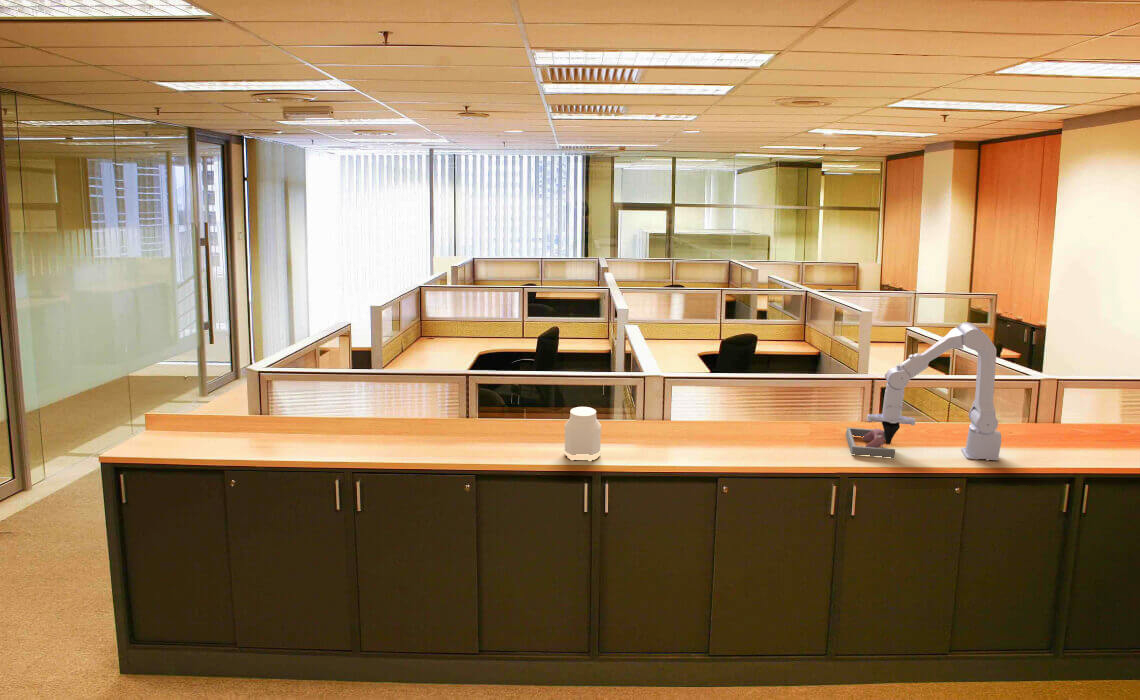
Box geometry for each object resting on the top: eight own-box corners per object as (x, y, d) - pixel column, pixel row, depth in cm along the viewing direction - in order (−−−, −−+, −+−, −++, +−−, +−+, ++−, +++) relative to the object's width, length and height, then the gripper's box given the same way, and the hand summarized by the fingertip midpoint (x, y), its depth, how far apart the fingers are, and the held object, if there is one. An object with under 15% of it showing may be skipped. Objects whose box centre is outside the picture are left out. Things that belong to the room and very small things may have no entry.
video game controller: (876, 456, 266) (888, 439, 263) (863, 449, 266) (875, 432, 264) (873, 445, 275) (885, 428, 272) (861, 438, 275) (873, 421, 273)
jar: (563, 460, 256) (564, 416, 252) (565, 448, 266) (565, 405, 261) (600, 461, 256) (601, 417, 252) (600, 449, 265) (601, 406, 261)
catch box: (885, 438, 277) (886, 430, 276) (894, 459, 261) (895, 450, 260) (845, 435, 279) (846, 427, 278) (851, 455, 263) (852, 446, 262)
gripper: (871, 406, 262) (866, 445, 266) (919, 410, 259) (913, 449, 263) (868, 399, 269) (863, 437, 272) (914, 402, 266) (909, 441, 270)
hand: (887, 443), depth 268 cm, fingers closed
